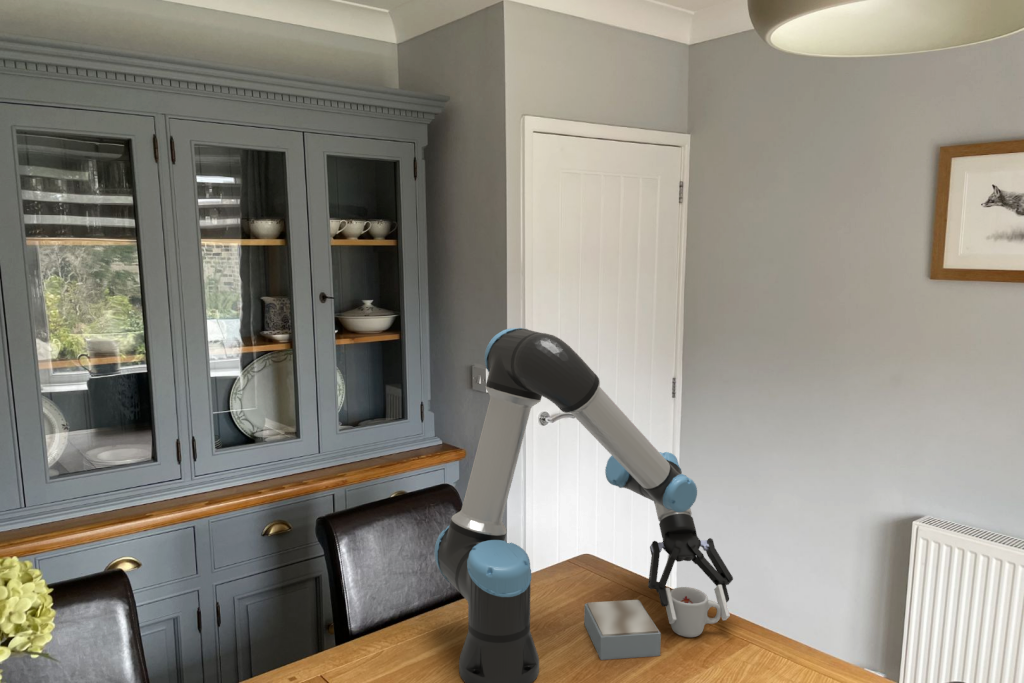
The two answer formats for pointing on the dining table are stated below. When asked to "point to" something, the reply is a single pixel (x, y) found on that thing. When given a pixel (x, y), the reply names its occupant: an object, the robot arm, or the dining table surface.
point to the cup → (692, 611)
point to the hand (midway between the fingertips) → (699, 620)
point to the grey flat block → (621, 629)
